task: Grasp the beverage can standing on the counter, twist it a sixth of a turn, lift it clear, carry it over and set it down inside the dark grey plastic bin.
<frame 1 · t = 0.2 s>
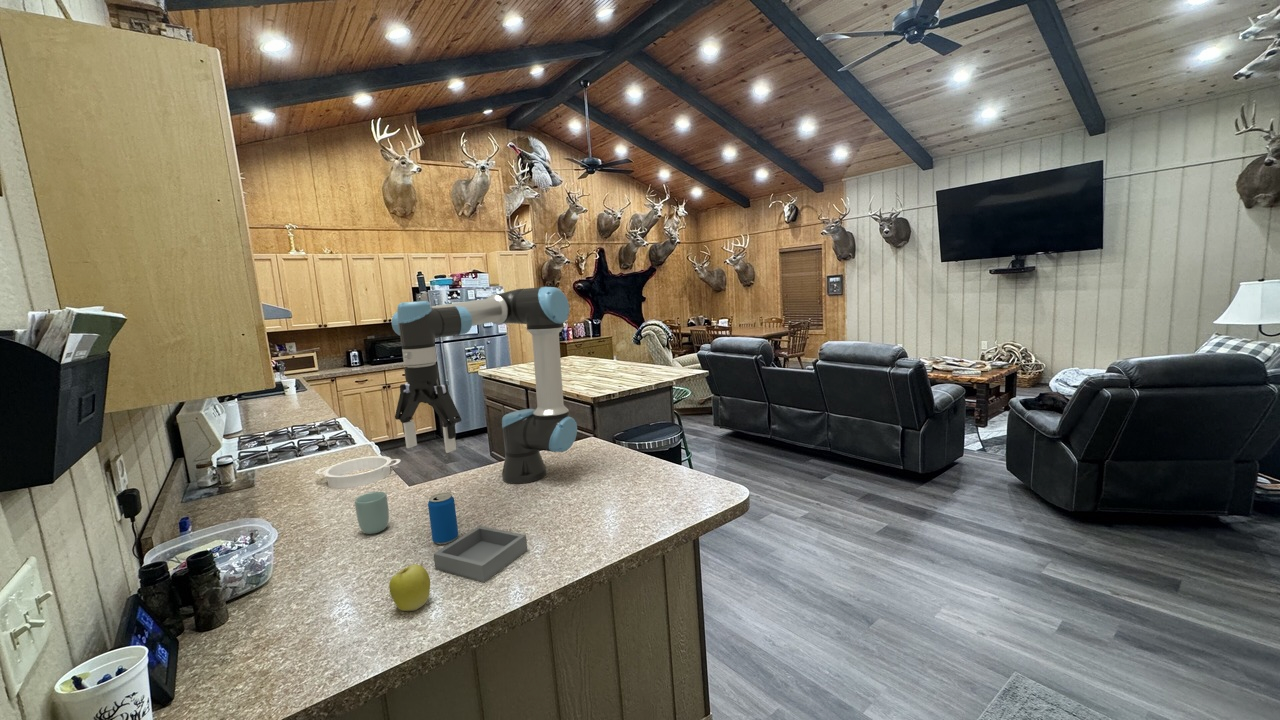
hand: (431, 449, 130), 26 cm above the kitchen counter, fingers open, 13 cm apart
apple: (412, 605, 109), on the kitchen counter
oval baking dish: (360, 478, 191), on the kitchen counter
bin: (482, 559, 126), on the kitchen counter
beverage can: (445, 540, 138), on the kitchen counter
cup: (375, 531, 146), on the kitchen counter
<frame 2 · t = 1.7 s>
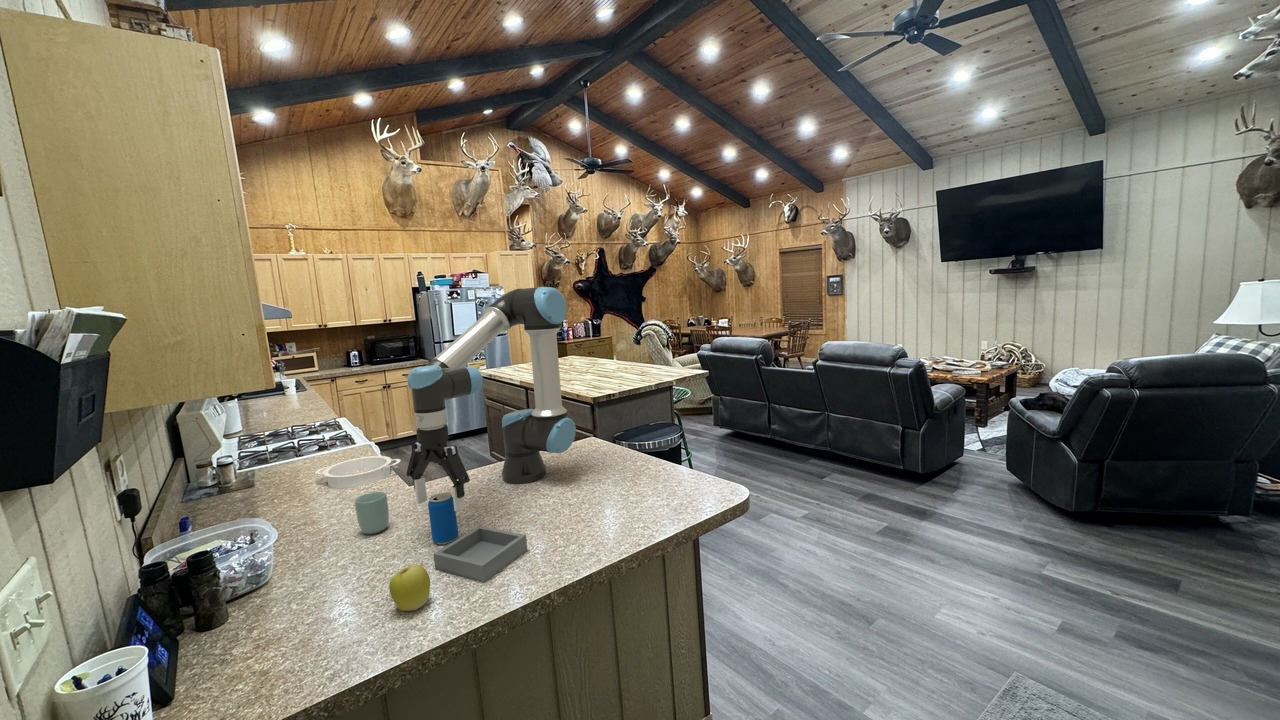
hand: (440, 505, 136), 10 cm above the kitchen counter, fingers open, 13 cm apart
nothing on the kitchen counter moved.
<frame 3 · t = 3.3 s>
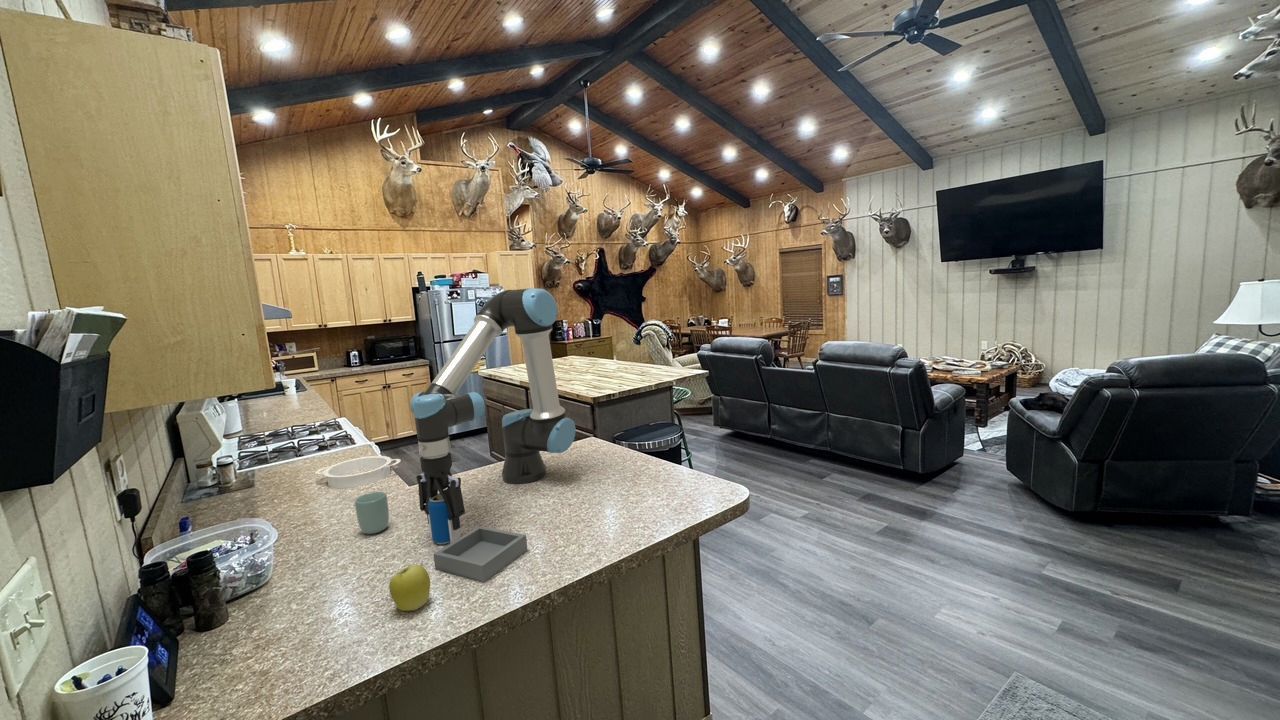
hand: (445, 538, 138), 0 cm above the kitchen counter, fingers closed on beverage can, 6 cm apart
beverage can: (445, 540, 138), on the kitchen counter, touching gripper
everything else where it was.
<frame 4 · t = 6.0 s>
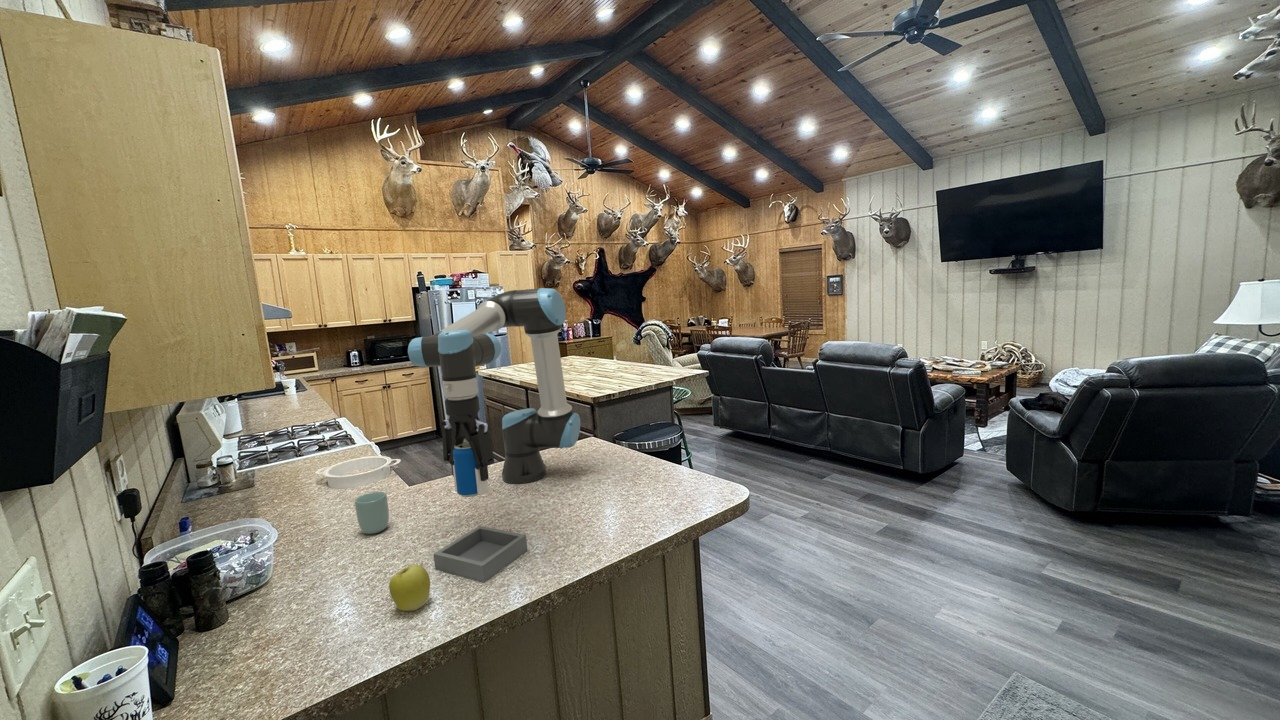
hand: (471, 491, 124), 17 cm above the kitchen counter, fingers closed on beverage can, 6 cm apart
beverage can: (472, 493, 124), point 17 cm above the kitchen counter, touching gripper
everything else where it was.
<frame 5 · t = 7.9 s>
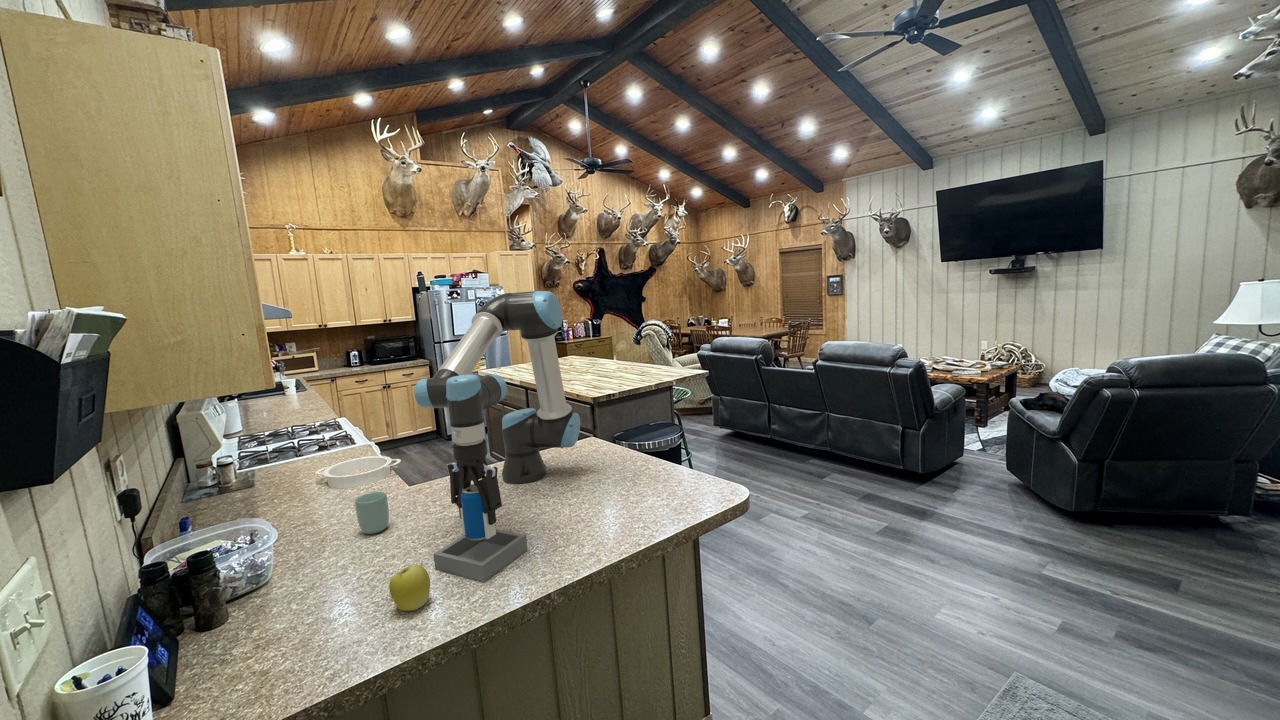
hand: (479, 533, 125), 7 cm above the kitchen counter, fingers closed on beverage can, 6 cm apart
beverage can: (479, 536, 125), point 6 cm above the kitchen counter, touching gripper
everything else where it was.
when the fingers open (3 cm above the kitchen counter, at t = 9.0 s): beverage can drops 2 cm, resting on bin.
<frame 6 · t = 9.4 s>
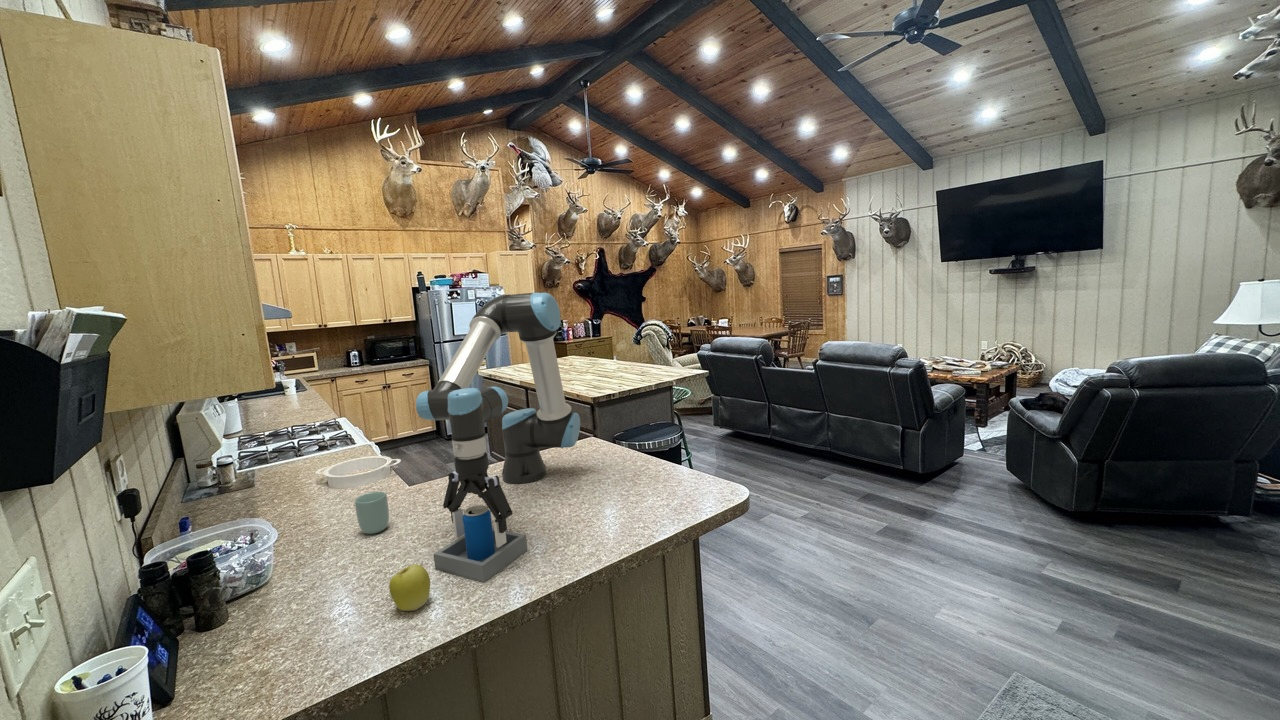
hand: (480, 540, 125), 5 cm above the kitchen counter, fingers open, 12 cm apart
beverage can: (481, 557, 126), resting on bin
everything else where it was.
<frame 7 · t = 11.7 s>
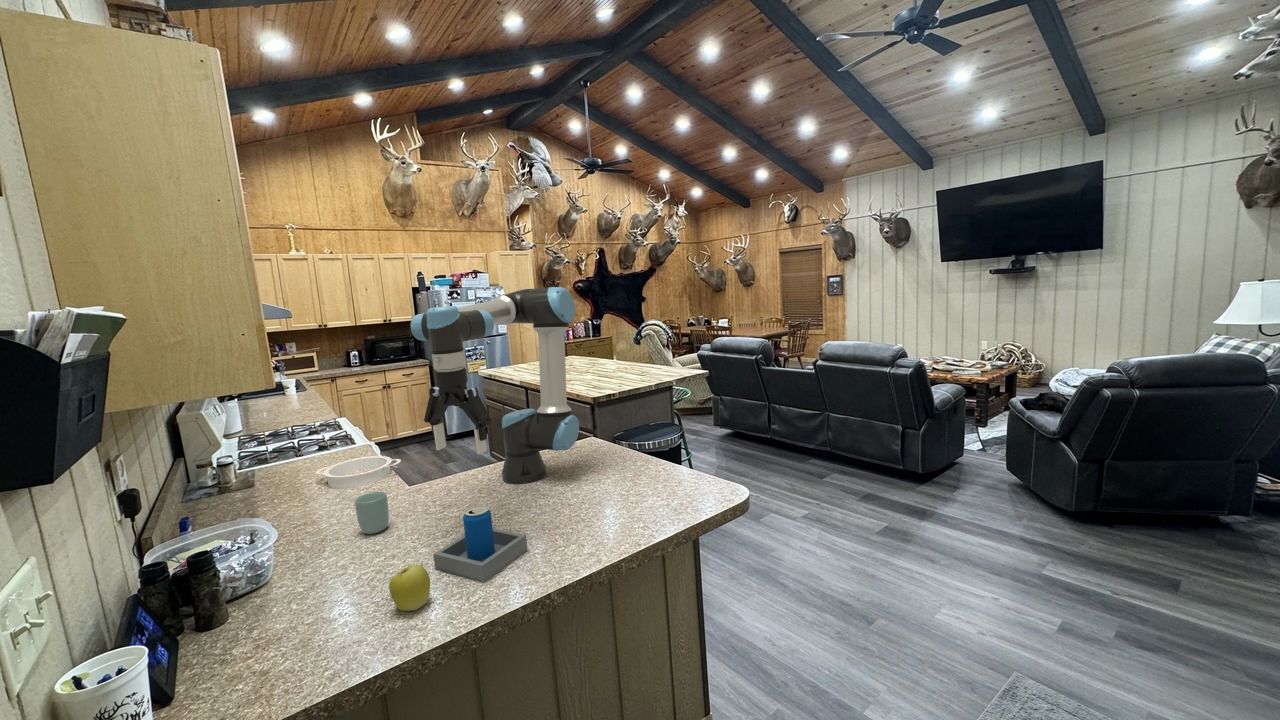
hand: (461, 450, 133), 24 cm above the kitchen counter, fingers open, 13 cm apart
nothing on the kitchen counter moved.
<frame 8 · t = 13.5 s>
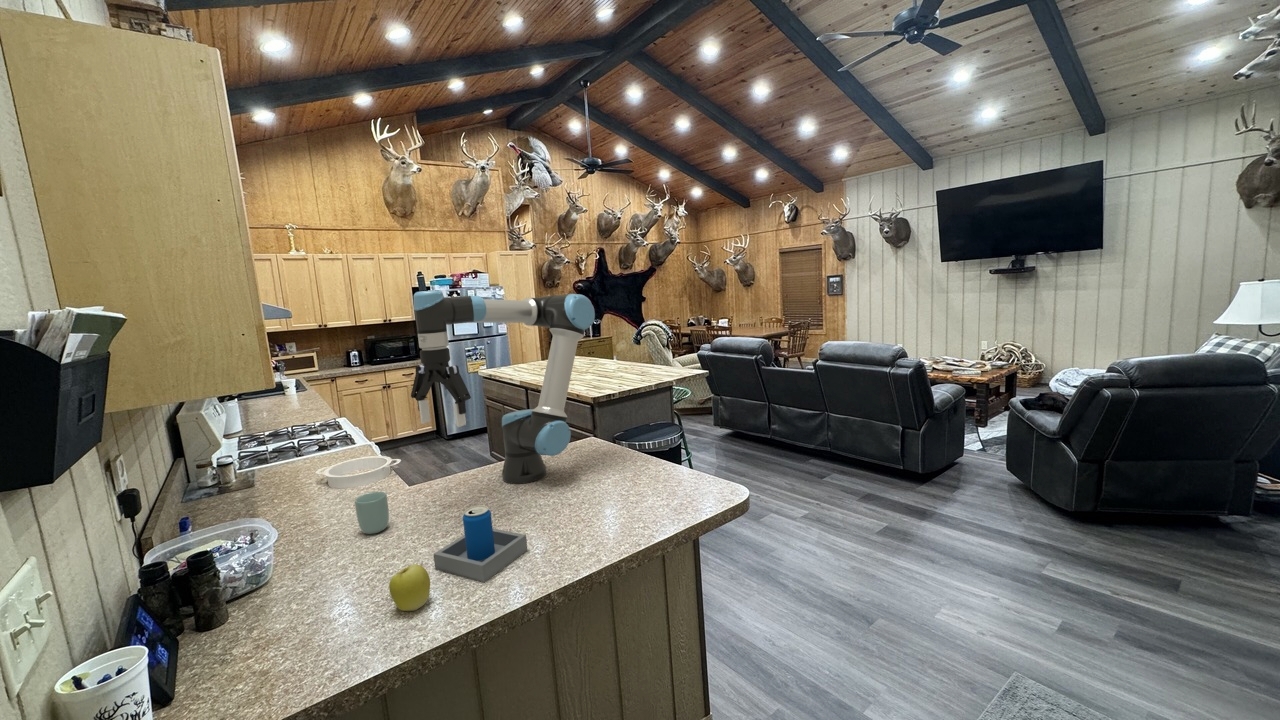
hand: (443, 424, 144), 29 cm above the kitchen counter, fingers open, 13 cm apart
nothing on the kitchen counter moved.
at the end: beverage can 0.3 cm from the bin (horizontally); beverage can resting on bin; beverage can tilted 0°; the gripper is holding nothing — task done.
